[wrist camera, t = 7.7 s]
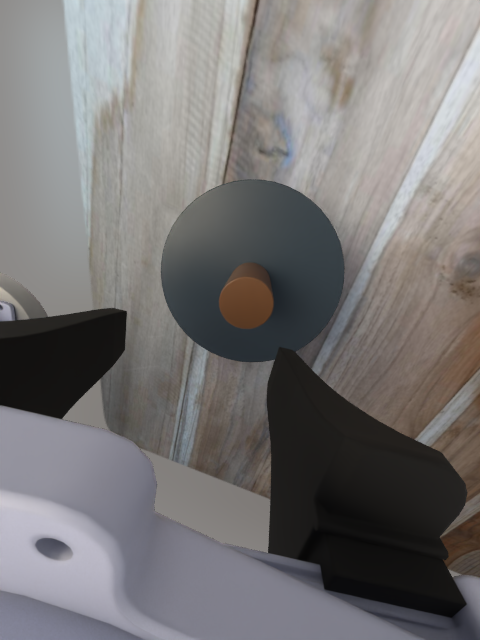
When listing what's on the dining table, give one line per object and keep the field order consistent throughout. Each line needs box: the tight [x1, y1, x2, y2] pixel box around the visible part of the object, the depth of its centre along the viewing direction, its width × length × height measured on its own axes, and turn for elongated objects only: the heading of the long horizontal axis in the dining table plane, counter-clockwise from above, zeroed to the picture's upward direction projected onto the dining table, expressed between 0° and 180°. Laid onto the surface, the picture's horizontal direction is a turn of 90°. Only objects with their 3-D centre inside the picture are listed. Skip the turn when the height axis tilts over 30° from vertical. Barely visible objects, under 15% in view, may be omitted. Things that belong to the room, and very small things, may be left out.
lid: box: [161, 180, 344, 362], centre depth 13 cm, size 11×11×5 cm
